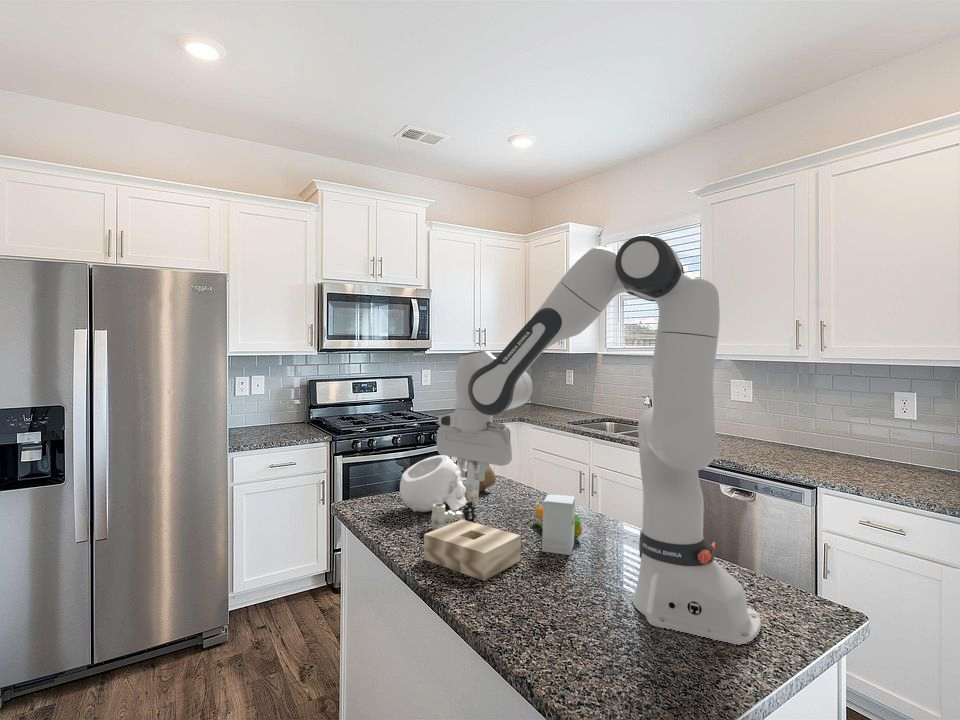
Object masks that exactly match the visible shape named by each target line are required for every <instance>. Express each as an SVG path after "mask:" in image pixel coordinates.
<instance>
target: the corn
mask: <svg viewBox="0 0 960 720" xmlns="http://www.w3.org/2000/svg"><path fill="white" fill-rule="evenodd" d="M535 515H536V516H537V518H538V519H539V521H541V522H539V521H537V520H535V519H534V520H533V521H534V523H535V524H536V525H538V526H539V527H540V528H541V529H543V505H541V506H539V507H536V508H535ZM583 530H584V528H583V526H582V524H581V521H580V519H579V516H578V515H577V514H576V513H575V527H574V540H575V539H578V538H579V537H580V536H581V535H582V533H583Z"/></svg>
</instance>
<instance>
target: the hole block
mask: <svg viewBox="0 0 960 720" xmlns="http://www.w3.org/2000/svg"><path fill="white" fill-rule="evenodd" d="M521 542H522V535H521V534H517V533H513V532H510V531H505V530H503V529H498V528H495V527H491V526H487V525H484V524H481V523H477V522H475V523H473V522H470V521H466V520H465V519H460V520H458V521H455V522H453V523H450V524H448V525H445V526H444V527H442V528H439V529H437V530H431V531H429V532H427V533H424V534H423V560H424V561H427V562H429V561H430V563H432V564H435V565H439V566H441V567H444V568H446V567H447V568H448V569H450V570H453V571H454V572H455V571H456V572H458V573H461V574H464V575H466V576H469V577H472V578H474V579H478V580H481V581H484V582H486V581H487V580H488V579H490V578H493V577H494V576H496V575H498V574H500V573H502V572H503V571H505V570H506V569H508V568H510V567H512V566H514V565H516V564H518V563H519V562H520V561H521V554H522V553H521V552H522V551H521V548H522V547H521V545H522V543H521Z"/></svg>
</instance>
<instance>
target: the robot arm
mask: <svg viewBox="0 0 960 720" xmlns="http://www.w3.org/2000/svg"><path fill="white" fill-rule="evenodd" d="M683 267H684V266H683V265H682V262H681V261H680V259H679V256H678V254H677V252H676V251H675V250H674V249H673V248H672V247H671V246H670V245H669V244H668V242H666V241H665V240H664V239H662V238H661V237H658V236H655V235H651V234H639V235H637V236H636V235H635V236H634V237H631V238H629V239H627V240H626V241H625V242H624V243H623V244H622V245H621V247H620V248H619V249H618V251H617V252H615V251H613V250H612V249H611V248H607V247H603V246H596V247H592V248H590V249H589V250H588V251H586V253H584V254H583V255H582V256H581V257H580V258H579V259H578V260H577V261H575V263H574V264H573V265H572V266H571V267H570V268H569V269H568V270H567V271H566V272H565V274H564V275H563V276H562V278H561V279H560V280H559V281H558V283H557V284H556V286H555V287H554V288H553V289H552V291H551V292H550V294H549V295H548V296H547V298H545V300H544V302H543V303H542V305H540V307H539V308H538V309H537V310H536V312H535V313H534V315H533V316H532V317H531V318H530V319H529V320H528V322H526V324H525V325H524V326H523V327H522V328H520V331H518V332H517V334H516V335H515V336H514V337H513V339H511V340H510V341H509V343H508V344H507V345H506V347H505V348H504V349H503V350H502V351H501V352H500V353H499V355H498V356H497V357H496V356H495V355H493V353H492V352H491V351H488V350H479V351H478V350H477V351H471V352H467V353H466V352H465V353H464V354H462V355H461V356H460V357H459V359H458V361H457V366H456V371H455V374H456V375H455V392H456V402H455V405H454V406H455V407H454V412H450V413H447V414H444V415H441V416H439V417H438V420H437V422H438V423H437V424H438V425H439V427H438V429H437V433H436V434H437V435H436V450H437V453H438V454H439V455H446V456H448V457H450V458H451V457H452V458H456V464H457V466H458V467H459V469H460V470H459V471H460V473H461V478H465V479H467V460H472V461H478V462H479V466H480V467H481V468H480V470H479V472H477V473H475V476H476V477H475V480H478V481H483V480H484V479H485V472H486V470H487V469H488V467H489V466H490V465H496V466H500V467H503V466H506V465H509V464H511V461H512V460H513V452H512V443H511V430H510V428H509V427H508V426H506V424H504V423H497V422H493V416H495V415H498V414H500V413H503V412H504V411H508V410H513V409H515V408H518V407H521V406H523V405H525V404H527V402H529V401H530V399H531V398H532V395H533V393H534V382H533V378H532V376H531V375H530V374H529V372H527V371H528V369H529V368H530V367H531V366H532V365H533V364H534V362H535V361H536V360H537V359H538V358H539V357H540V355H541V354H542V353H544V351H545V350H547V349H549V348H550V347H551V346H552V345H555V344H557V343H559V342H560V341H563V340H564V341H565V340H567V339H569V338H572V337H575V336H578V335H580V334H581V333H583V331H585V330H586V329H587V328H588V327H590V325H592V324H593V323H594V322H595V320H597V318H598V317H599V316H600V315H601V313H602V312H603V311H604V310H605V308H606V307H607V306H608V304H609V303H611V302H612V300H613V299H614V298H615V297H616V296H617V295H619V294H622V293H627V294H629V295H631V296H635V297H636V298H640V299H642V300H644V301H649V302H655V303H656V305H657V308H658V320H657V321H658V322H657V326H656V327H657V329H656V335H655V344H654V351H653V352H654V353H653V358H652V366H651V367H652V368H651V376H652V377H651V378H652V391H653V392H652V393H653V394H652V398H653V399H652V401H653V403H652V404H653V405H652V406H651V407H649V408H647V409H646V410H645V411H644V412H643V413H642V414H641V416H640V417H639V419H638V424H637V433H638V449H639V464H640V475H641V485H642V526H641V527H642V529H640V531H639V540H638V541H639V543H638V544H639V545H638V551H639V558H640V565H639V571H638V578H637V583H636V587H635V590H634V593H633V597H632V603H633V605H634V607H635V608H636V610H638V611H639V612H640V613H641V614H642V615H644V617H645V619H646V620H647V621H646V622H648V623H649V624H650V625H651V626H653V627H656V628H661V629H664V628H666V630H669V629H673V630H678V631H681V632H686V633H690V634H694V635H697V636H696V637H698V636H701V637H700V638H702V637H706V638H710V639H713V640H712V641H715V640H718V641H717V642H719V641H724V642H728V643H732V644H738V645H740V644H744V643H747V642H750V641H752V640H753V639H754V638H755V637H756V636H757V635H758V636H759V634H760V633H761V632H760V631H761V630H760V629H762V624H761V617H760V615H759V614H758V612H757V611H756V610H754V609H752V608H749V607H748V603H747V602H748V601H747V597H746V596H747V595H746V593H745V589H744V588H743V586H742V584H741V583H740V582H739V581H738V580H737V579H736V578H734V577H733V576H732V575H731V574H730V573H729V572H728V571H727V570H726V569H724V568H723V567H722V566H721V565H720V564H719V563H718V562H717V561H716V560H714V558H715V550H716V542H715V541H713V542H712V543H710V542H709V541H708V540H707V539H706V538H705V537H704V506H705V505H704V504H705V503H704V494H703V491H702V486H701V483H700V482H701V481H700V477H699V471H701V470H703V469H705V468H707V467H708V466H710V464H712V463H713V462H714V460H715V459H716V457H717V455H718V451H719V439H718V435H717V432H716V428H715V423H716V422H715V402H714V400H715V399H714V398H715V397H714V372H715V365H716V356H717V351H718V350H717V349H718V348H717V347H718V341H719V331H720V312H721V311H720V296H719V291H718V289H717V287H716V286H715V284H713V283H712V282H710V281H709V280H707V279H704V278H701V277H696V276H688V275H685V271H684V268H683ZM673 630H672V631H673ZM681 632H680V633H681ZM759 632H760V633H759ZM690 634H689V635H690ZM694 635H693V636H694ZM758 636H757V637H758ZM757 637H756V638H757ZM706 638H705V639H706ZM710 639H709V640H710ZM753 641H754V640H753ZM753 641H752V642H753ZM750 643H751V642H750Z"/></svg>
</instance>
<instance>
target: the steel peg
mask: <svg viewBox="0 0 960 720" xmlns="http://www.w3.org/2000/svg"><path fill="white" fill-rule="evenodd" d="M466 465H467V478H466V481H465V482H466V484H465V488H466V492H465V498H466V501H467V503H468V502H472V503H478V502H479V495H480V491H479V481H478V480H475V477H476V476H475V473H477V472H479V470H480V466H479V462H478V461H472V460H467V461H466Z"/></svg>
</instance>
